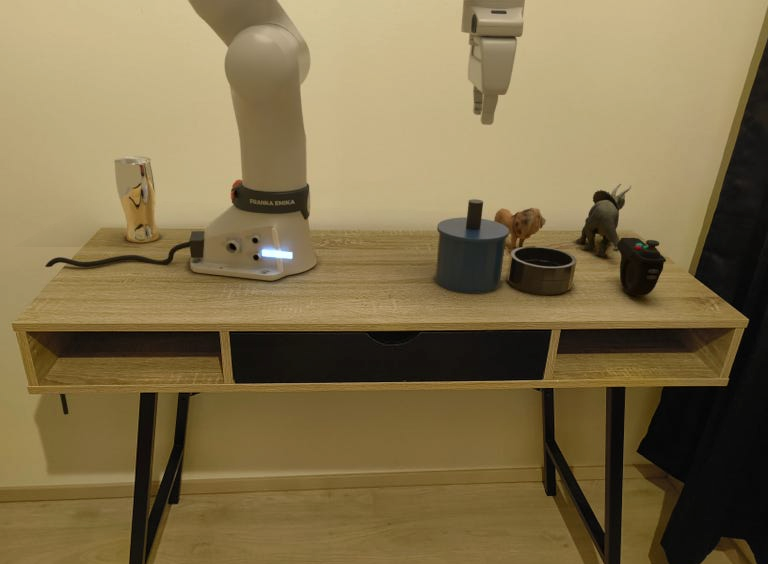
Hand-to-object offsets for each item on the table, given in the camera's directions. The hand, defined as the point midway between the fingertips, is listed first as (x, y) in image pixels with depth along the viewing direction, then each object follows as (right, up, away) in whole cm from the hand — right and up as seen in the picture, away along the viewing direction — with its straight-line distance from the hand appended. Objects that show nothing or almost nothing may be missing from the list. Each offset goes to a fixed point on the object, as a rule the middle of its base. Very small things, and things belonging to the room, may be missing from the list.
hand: (482, 119), depth 106 cm
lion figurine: (+11, -15, +30) cm, 35 cm away
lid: (0, -16, +8) cm, 18 cm away
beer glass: (-62, -14, +27) cm, 69 cm away
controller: (+27, -26, +10) cm, 39 cm away
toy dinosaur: (+28, -16, +30) cm, 44 cm away
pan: (+12, -24, +12) cm, 30 cm away
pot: (-1, -24, +12) cm, 27 cm away
